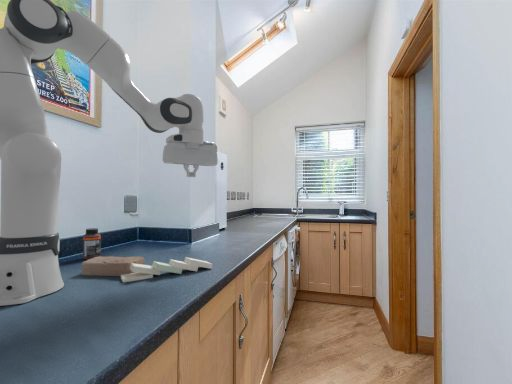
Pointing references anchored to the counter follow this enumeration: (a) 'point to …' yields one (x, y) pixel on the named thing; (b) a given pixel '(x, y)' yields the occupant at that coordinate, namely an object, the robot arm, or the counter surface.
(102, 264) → the brick
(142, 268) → the domino
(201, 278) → the counter surface
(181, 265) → the domino
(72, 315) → the counter surface
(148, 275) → the domino
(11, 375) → the counter surface
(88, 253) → the supplement bottle
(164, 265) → the pale green domino
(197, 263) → the domino
